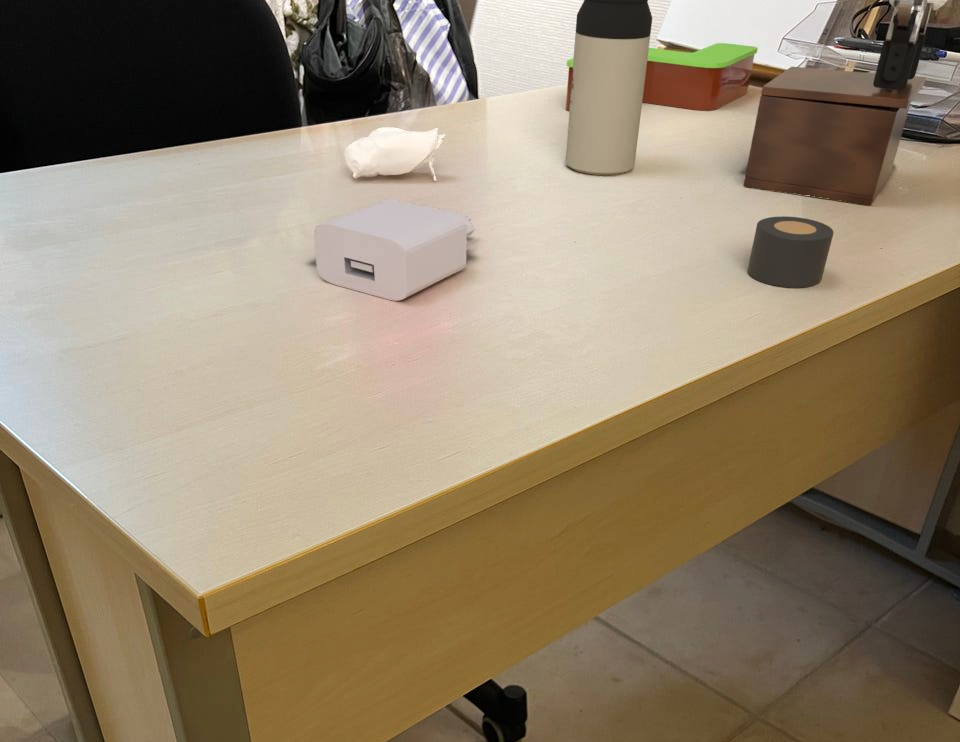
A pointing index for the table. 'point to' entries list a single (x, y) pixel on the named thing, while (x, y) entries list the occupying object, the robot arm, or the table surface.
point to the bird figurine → (392, 152)
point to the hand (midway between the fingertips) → (894, 81)
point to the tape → (789, 251)
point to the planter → (694, 76)
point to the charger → (392, 248)
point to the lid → (840, 87)
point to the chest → (824, 148)
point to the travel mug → (607, 85)
